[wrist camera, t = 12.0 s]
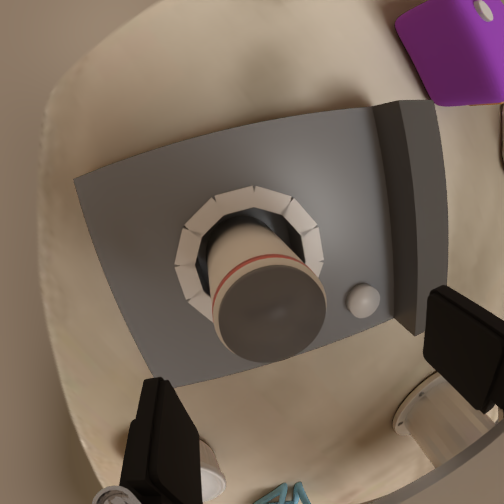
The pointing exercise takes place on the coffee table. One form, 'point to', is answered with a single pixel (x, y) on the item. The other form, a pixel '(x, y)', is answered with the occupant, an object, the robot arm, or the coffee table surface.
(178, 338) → the camera body
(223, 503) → the coffee table surface
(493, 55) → the toy camera
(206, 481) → the ramekin
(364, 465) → the coffee table surface
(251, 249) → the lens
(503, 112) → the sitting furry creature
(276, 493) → the chair
